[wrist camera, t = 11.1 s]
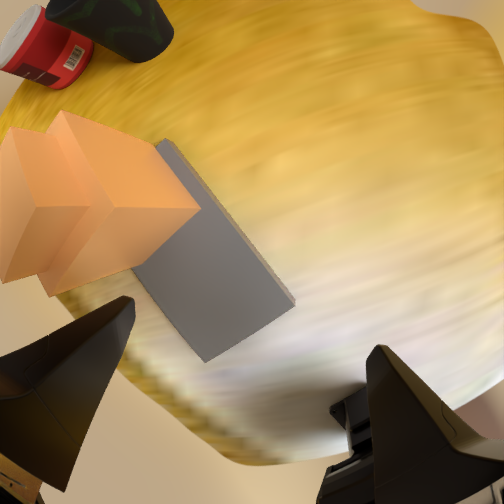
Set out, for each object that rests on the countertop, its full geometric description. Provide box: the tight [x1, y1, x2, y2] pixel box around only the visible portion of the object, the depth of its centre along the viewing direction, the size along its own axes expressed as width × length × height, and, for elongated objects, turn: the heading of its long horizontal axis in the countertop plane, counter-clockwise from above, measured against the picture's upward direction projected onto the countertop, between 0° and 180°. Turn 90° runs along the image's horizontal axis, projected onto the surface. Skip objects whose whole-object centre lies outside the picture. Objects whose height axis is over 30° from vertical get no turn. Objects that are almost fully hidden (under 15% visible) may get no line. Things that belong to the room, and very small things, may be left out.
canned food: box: [0, 5, 94, 89], centre depth 16 cm, size 8×8×11 cm
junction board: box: [131, 138, 295, 363], centre depth 19 cm, size 16×9×4 cm, turn 38°
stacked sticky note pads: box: [0, 110, 201, 297], centre depth 14 cm, size 7×7×13 cm
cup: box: [45, 0, 174, 63], centre depth 13 cm, size 8×8×12 cm
